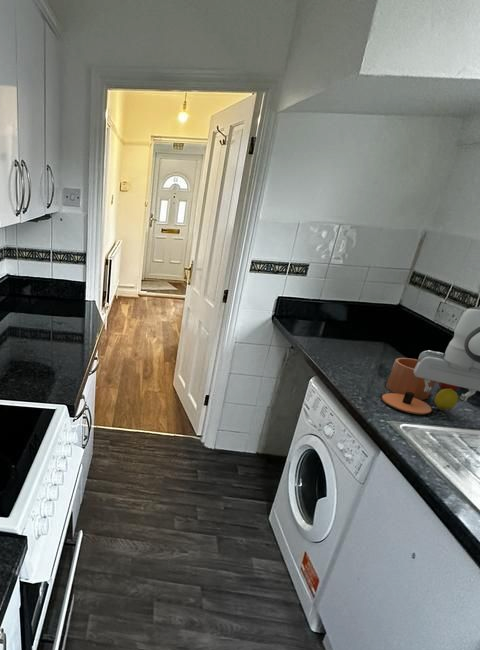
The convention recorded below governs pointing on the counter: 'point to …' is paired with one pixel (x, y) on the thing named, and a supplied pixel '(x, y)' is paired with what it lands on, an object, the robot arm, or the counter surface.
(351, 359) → the counter surface
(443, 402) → the lemon
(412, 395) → the lid
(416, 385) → the pot
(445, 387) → the onion
